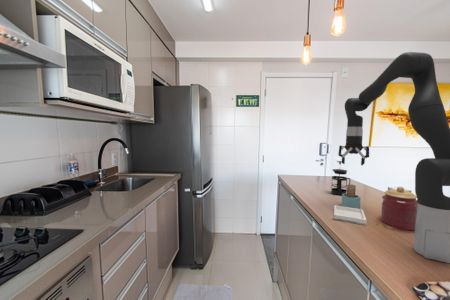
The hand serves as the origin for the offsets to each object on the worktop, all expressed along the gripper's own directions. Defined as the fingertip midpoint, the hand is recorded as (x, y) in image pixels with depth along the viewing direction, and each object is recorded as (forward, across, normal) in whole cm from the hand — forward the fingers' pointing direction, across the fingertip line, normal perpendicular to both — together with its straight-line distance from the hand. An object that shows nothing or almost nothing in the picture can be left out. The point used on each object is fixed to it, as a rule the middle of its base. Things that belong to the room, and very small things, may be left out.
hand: (352, 164), depth 112 cm
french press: (+25, -5, +26) cm, 36 cm away
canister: (+25, +18, -14) cm, 34 cm away
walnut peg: (+24, 0, 0) cm, 24 cm away
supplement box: (+25, +22, +6) cm, 34 cm away
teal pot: (+24, 0, 0) cm, 25 cm away
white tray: (+24, -2, -15) cm, 29 cm away
